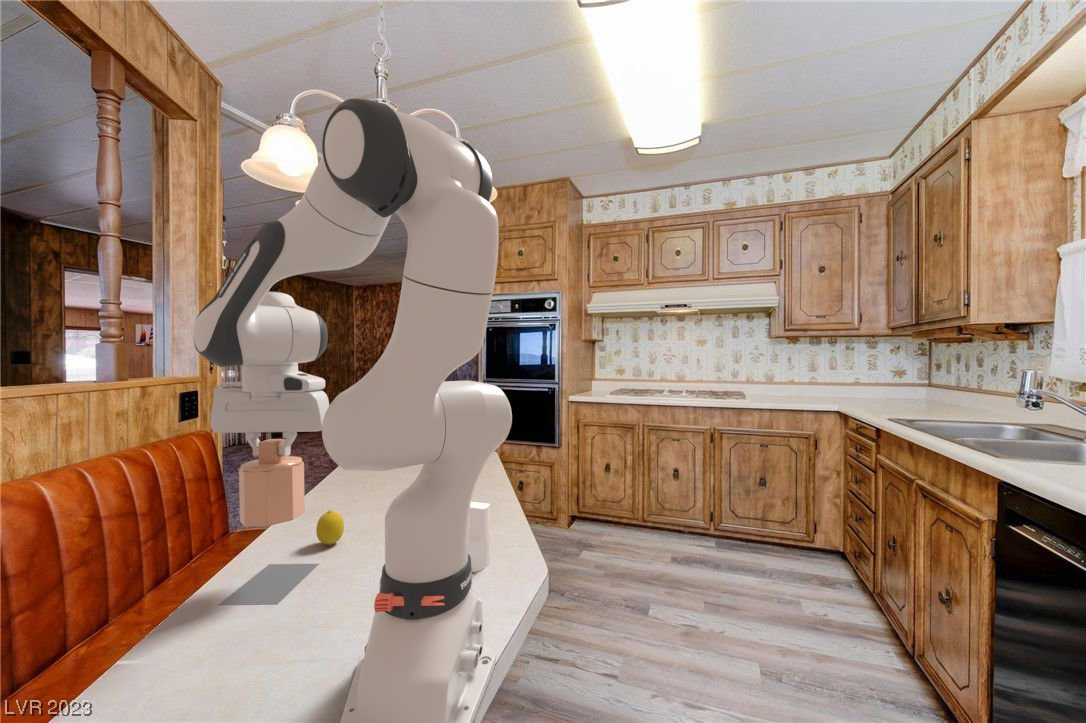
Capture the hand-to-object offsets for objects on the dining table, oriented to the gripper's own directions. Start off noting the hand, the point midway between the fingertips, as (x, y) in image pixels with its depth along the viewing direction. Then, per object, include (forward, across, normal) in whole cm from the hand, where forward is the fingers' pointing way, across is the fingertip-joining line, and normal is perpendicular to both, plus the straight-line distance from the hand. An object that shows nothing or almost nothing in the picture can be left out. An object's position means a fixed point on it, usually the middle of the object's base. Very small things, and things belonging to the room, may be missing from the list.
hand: (272, 456), depth 79 cm
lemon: (+24, +3, +16) cm, 29 cm away
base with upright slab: (+25, +35, +8) cm, 43 cm away
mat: (+24, 0, 0) cm, 24 cm away
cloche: (+11, 0, 0) cm, 11 cm away
